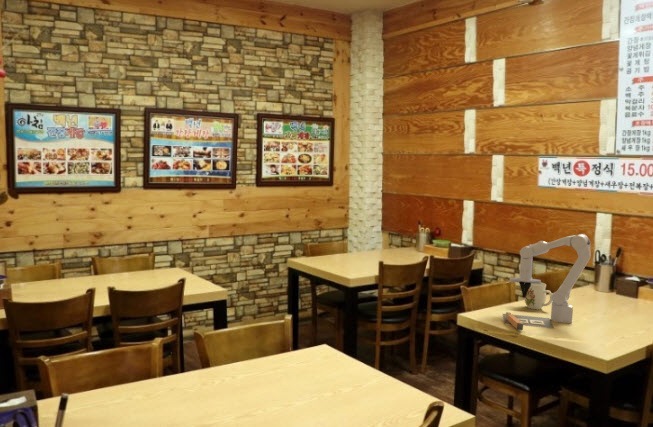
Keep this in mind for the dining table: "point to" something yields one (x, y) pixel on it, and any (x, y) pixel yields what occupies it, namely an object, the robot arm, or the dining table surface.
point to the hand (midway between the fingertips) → (524, 297)
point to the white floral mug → (537, 296)
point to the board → (546, 320)
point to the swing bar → (515, 321)
